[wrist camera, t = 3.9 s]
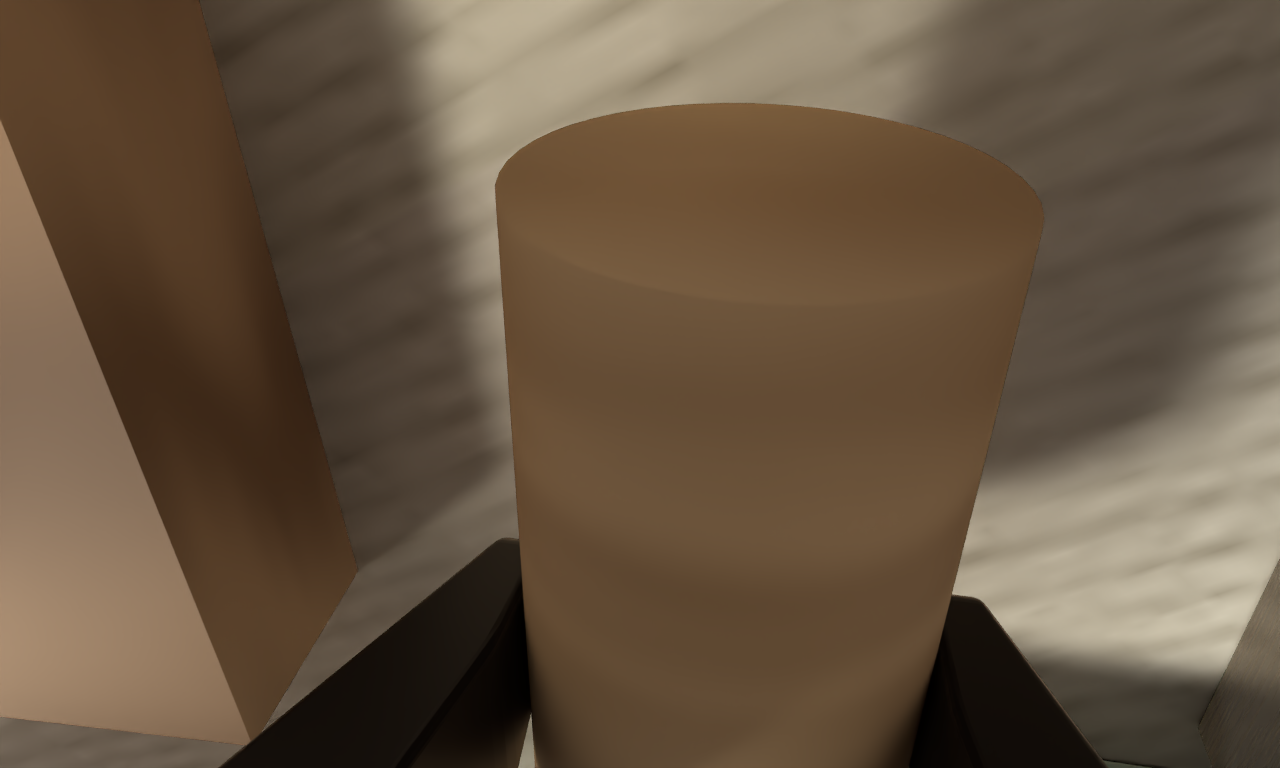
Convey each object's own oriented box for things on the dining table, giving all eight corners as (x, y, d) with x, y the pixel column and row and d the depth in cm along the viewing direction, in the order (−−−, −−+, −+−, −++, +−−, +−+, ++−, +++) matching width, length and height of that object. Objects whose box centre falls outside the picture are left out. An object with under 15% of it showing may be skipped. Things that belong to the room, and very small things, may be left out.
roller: (859, 810, 11) (857, 1133, 9) (588, 762, 12) (507, 1053, 9) (1008, 119, 7) (1093, 338, 4) (571, 90, 7) (409, 269, 5)
